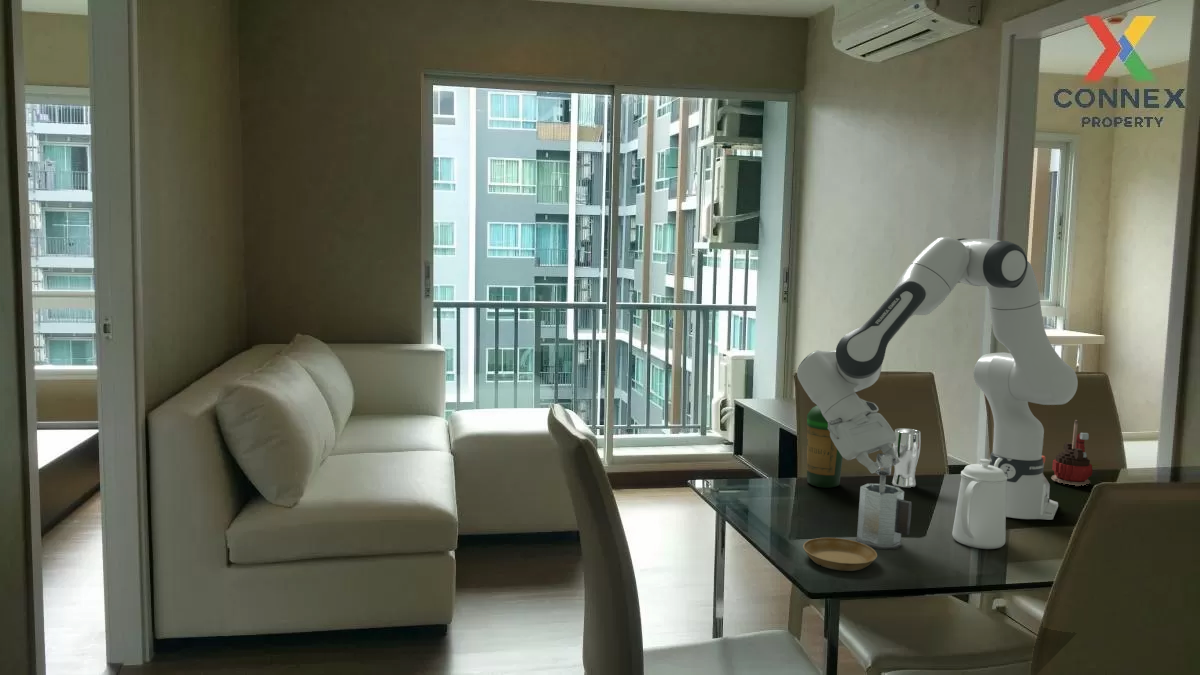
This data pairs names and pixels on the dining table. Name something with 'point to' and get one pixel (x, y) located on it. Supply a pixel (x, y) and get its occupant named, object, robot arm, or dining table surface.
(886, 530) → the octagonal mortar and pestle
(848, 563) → the plant saucer
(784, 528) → the dining table surface
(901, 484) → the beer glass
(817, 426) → the bottle
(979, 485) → the coffeepot
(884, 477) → the dumbbell
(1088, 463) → the cake
